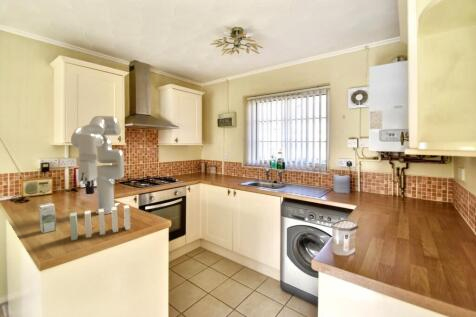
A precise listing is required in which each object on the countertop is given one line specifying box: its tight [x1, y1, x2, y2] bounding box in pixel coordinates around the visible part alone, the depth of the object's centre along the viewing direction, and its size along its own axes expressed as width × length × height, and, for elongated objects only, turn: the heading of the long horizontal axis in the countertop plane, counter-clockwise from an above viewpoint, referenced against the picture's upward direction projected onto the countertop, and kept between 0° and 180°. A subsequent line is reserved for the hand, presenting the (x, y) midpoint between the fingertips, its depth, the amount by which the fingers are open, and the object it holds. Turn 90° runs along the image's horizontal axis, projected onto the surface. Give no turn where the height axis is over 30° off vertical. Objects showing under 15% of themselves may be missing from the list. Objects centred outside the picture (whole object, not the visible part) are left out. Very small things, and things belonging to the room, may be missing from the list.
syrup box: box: [38, 202, 57, 234], centre depth 123 cm, size 6×6×14 cm
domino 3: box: [111, 206, 119, 233], centre depth 124 cm, size 2×6×12 cm, turn 32°
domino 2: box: [98, 209, 106, 236], centre depth 121 cm, size 2×6×12 cm, turn 32°
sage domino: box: [69, 211, 79, 241], centre depth 115 cm, size 2×6×12 cm, turn 31°
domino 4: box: [123, 204, 131, 231], centre depth 127 cm, size 2×6×12 cm, turn 32°
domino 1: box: [84, 209, 93, 239], centre depth 118 cm, size 2×6×12 cm, turn 32°
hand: (90, 193), depth 117 cm, fingers closed
